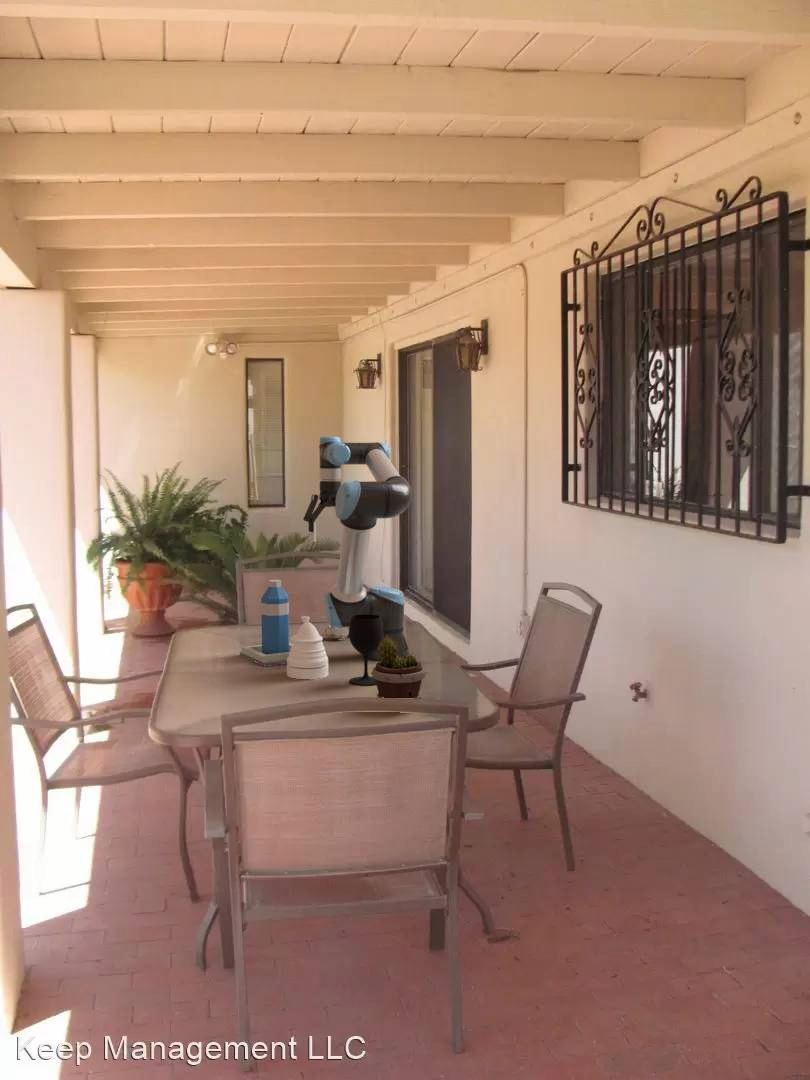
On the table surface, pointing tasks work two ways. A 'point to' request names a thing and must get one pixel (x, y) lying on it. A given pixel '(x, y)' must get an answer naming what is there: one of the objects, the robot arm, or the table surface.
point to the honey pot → (307, 654)
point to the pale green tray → (264, 655)
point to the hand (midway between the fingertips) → (330, 540)
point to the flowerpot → (397, 673)
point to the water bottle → (275, 619)
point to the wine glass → (365, 642)
